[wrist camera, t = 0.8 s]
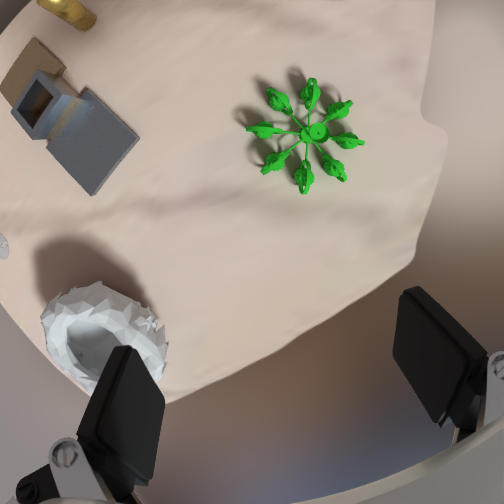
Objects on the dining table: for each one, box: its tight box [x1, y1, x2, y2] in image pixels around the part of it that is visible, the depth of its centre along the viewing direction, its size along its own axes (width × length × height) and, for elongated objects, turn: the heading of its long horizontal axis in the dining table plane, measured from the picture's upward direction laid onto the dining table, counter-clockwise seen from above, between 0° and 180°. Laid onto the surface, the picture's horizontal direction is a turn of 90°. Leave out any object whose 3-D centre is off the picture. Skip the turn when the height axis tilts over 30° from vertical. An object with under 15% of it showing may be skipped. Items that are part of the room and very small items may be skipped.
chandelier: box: [246, 78, 365, 194], centre depth 30 cm, size 15×15×7 cm
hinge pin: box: [37, 0, 97, 31], centre depth 18 cm, size 3×3×12 cm
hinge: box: [0, 38, 140, 196], centre depth 26 cm, size 10×29×6 cm, turn 43°
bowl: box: [40, 281, 169, 394], centre depth 37 cm, size 21×20×10 cm
